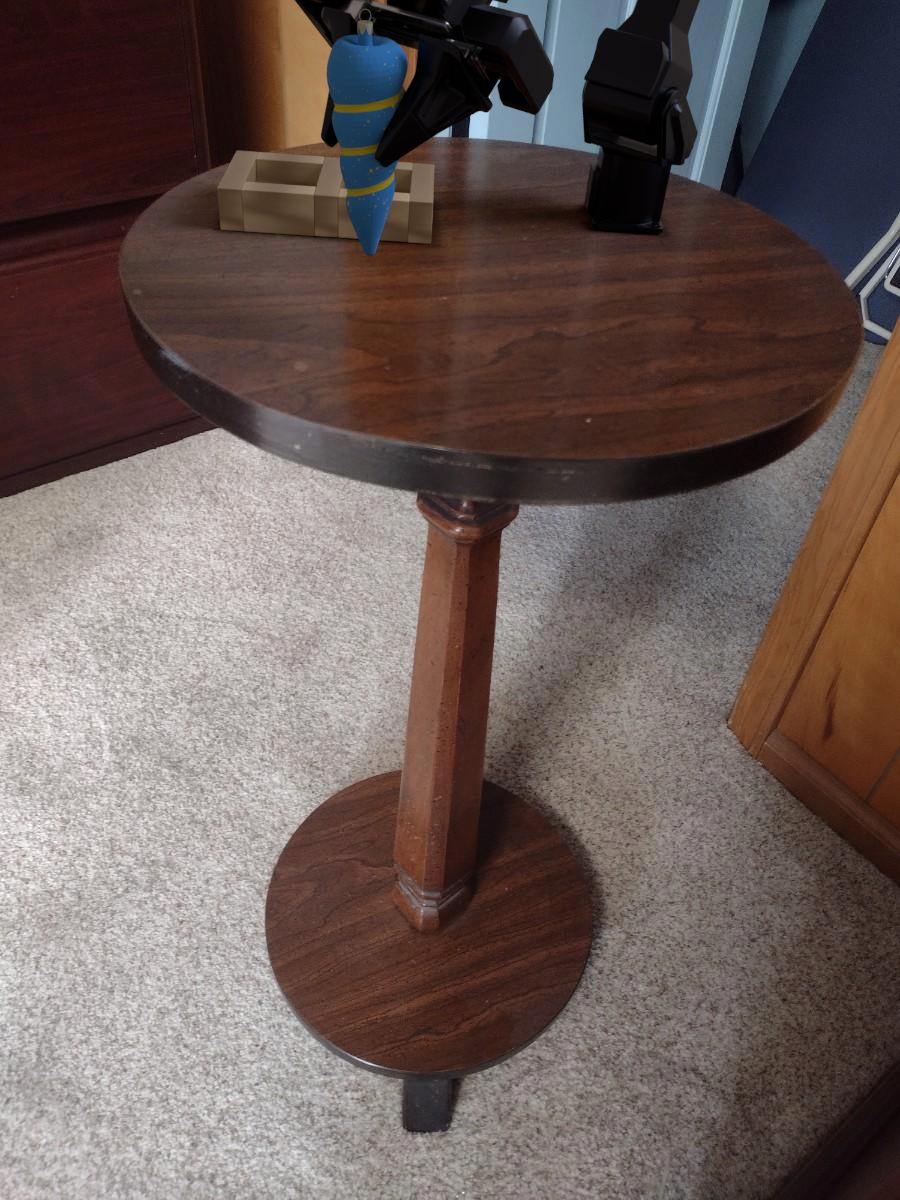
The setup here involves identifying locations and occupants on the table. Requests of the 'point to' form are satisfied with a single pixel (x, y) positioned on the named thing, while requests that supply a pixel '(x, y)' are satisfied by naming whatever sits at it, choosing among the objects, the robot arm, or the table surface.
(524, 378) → the table surface
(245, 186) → the rack
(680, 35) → the robot arm
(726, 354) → the table surface
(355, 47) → the ornament
